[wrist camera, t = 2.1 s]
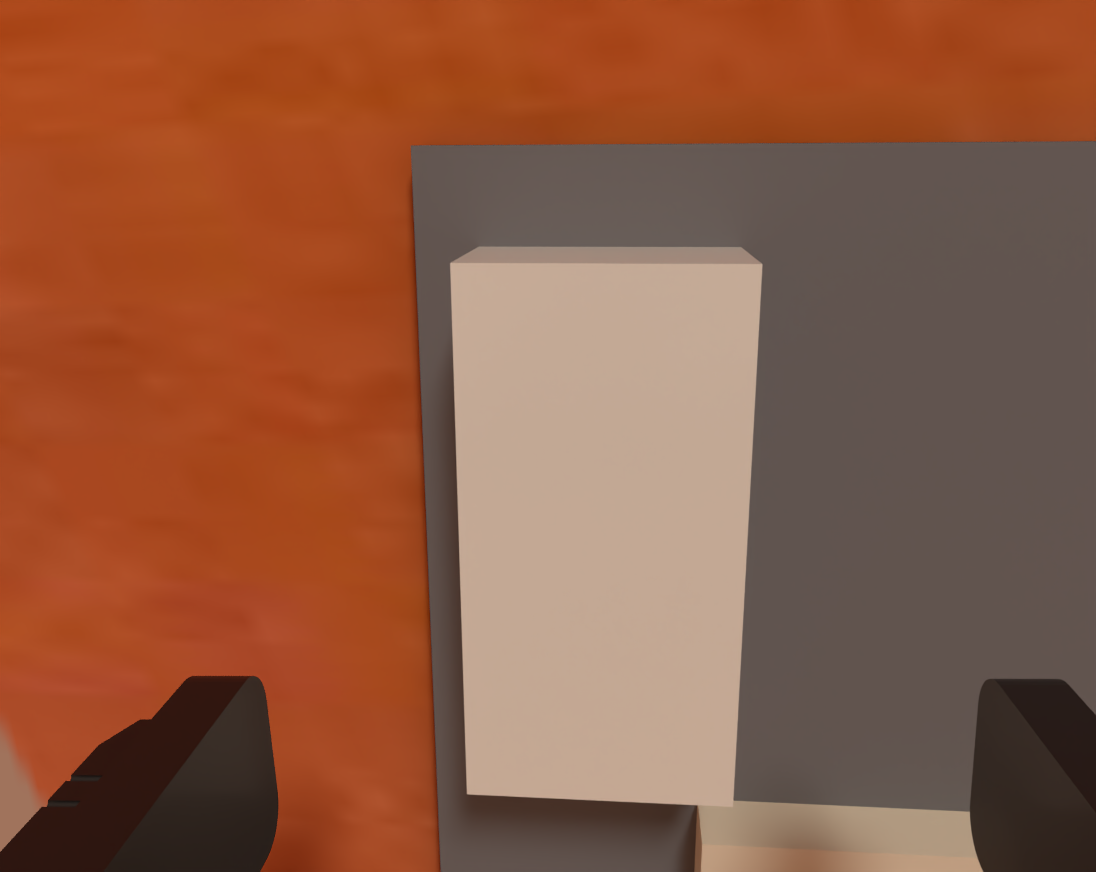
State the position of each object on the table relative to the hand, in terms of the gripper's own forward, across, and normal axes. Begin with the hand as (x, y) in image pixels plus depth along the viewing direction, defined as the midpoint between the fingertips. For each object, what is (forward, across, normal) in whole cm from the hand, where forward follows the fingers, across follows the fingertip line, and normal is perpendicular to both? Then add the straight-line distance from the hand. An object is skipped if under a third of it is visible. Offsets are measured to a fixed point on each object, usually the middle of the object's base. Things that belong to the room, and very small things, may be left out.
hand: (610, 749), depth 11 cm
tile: (+6, 0, -1) cm, 6 cm away
